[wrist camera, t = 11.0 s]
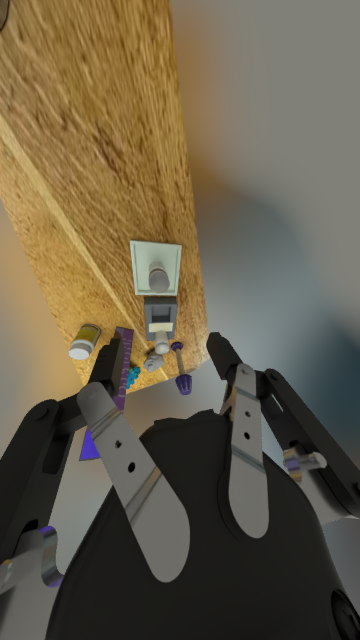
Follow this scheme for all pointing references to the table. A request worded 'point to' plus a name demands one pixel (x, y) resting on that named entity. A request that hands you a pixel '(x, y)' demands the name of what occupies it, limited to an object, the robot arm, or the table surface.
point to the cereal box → (88, 446)
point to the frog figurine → (153, 361)
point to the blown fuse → (158, 278)
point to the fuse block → (160, 321)
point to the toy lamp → (181, 371)
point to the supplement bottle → (84, 342)
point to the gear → (132, 376)
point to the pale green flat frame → (154, 252)
